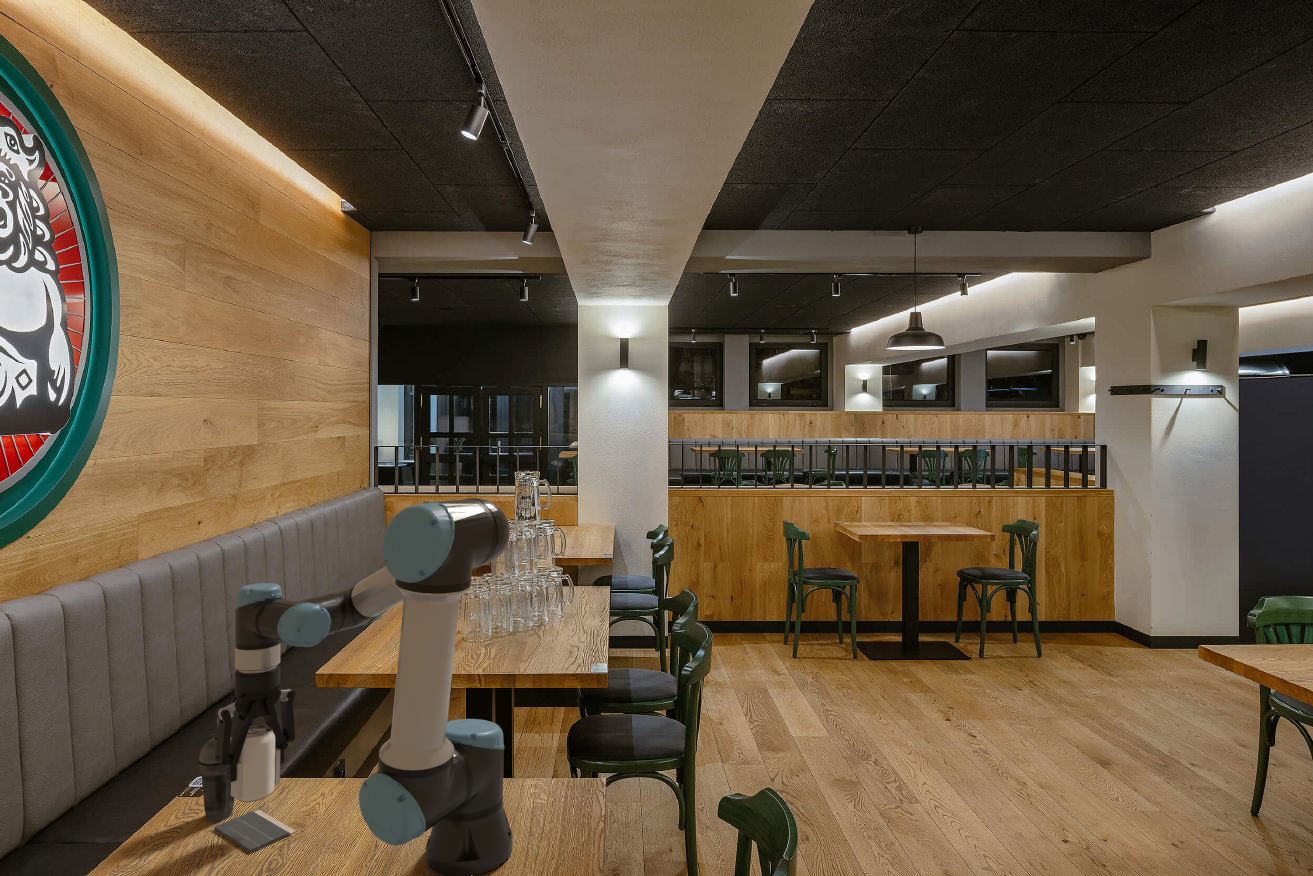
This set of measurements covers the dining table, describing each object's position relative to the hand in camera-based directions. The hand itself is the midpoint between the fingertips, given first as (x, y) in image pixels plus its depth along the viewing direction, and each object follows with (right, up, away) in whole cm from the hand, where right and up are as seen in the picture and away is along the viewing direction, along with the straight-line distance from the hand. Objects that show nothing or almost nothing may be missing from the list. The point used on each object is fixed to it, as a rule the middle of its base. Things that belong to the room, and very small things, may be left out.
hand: (255, 789), depth 135 cm
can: (0, -1, 0) cm, 1 cm away
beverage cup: (-10, -8, +6) cm, 15 cm away
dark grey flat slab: (0, -8, +1) cm, 8 cm away
